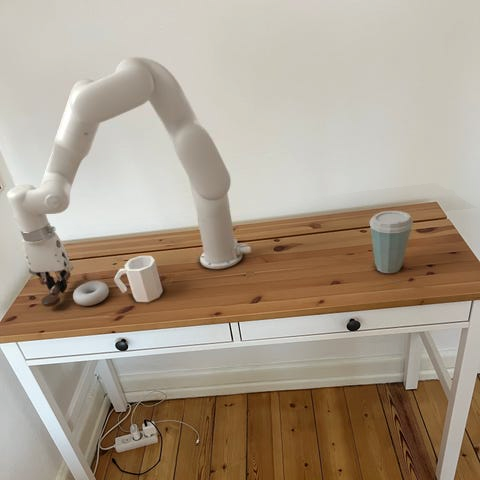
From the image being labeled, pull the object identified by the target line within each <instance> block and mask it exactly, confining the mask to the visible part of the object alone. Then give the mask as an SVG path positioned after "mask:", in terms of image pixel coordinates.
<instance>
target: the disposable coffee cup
mask: <svg viewBox="0 0 480 480" xmlns="http://www.w3.org/2000/svg"><path fill="white" fill-rule="evenodd" d="M413 220H414V219H413V218H412V216H411V215H410V213H408V212H404V211H399V210H387V211H380V212H378V213H375V214H374V215H372V217H371V218H370V220H369V226H370V233H371V242H372V249H373V258H374V265H375V268H376V269H377V271H379V272H380V273H384V274H394V273H397V272H399V271H400V270H401V267H402V266H403V263H404V258H405V255H406V251H407V246H408V244H409V243H408V241H409V237H410V235H411V230H412V227H413V226H414V221H413Z"/></svg>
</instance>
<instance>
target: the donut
mask: <svg viewBox="0 0 480 480" xmlns="http://www.w3.org/2000/svg"><path fill="white" fill-rule="evenodd" d="M109 292H110V290H109V286H108V285H107V284H106V283H105V282H103V281H101V280H92V281H91V280H90V281H87V282H84V283H82V284H81V285H78V286H77V287H76V288H75V289H74V291H73V294H72V298H73V301H74V302H75V304H77V305H79V306H81V307H82V306H83V307H88V306H94V305H97V304H99V303H101V302H103V301H105V299H106V298H107V297H108V296H109Z"/></svg>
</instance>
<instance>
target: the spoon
mask: <svg viewBox="0 0 480 480" xmlns="http://www.w3.org/2000/svg"><path fill="white" fill-rule="evenodd" d="M70 277H71V271H70V272H68V273H66V274H65V276H64V278H65V281H66V283H67V282H68V280H69V279H70ZM60 293H61V292H60V289H59V286H58V284H57V280H56V281H55V284H54V285H53V287H52V288H51V290H49V294H47V295H45V296H43V298H41V304H42V306H43V307H45V308H50V307H53V306H56V305H58V304H59V303H60V302H61V297H60V295H59V294H60Z"/></svg>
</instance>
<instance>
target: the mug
mask: <svg viewBox="0 0 480 480" xmlns="http://www.w3.org/2000/svg"><path fill="white" fill-rule="evenodd" d="M123 267H124V268H119V270H118V271H117V273H116V274H115V276H114V279H113V281H114V283H115V284H116V286H117V287H118V289H119V290H120V292H121V293H122V294H124V293H126V292H127V291H128V287H127V286H126V285H125V284H124V283H123V281H122V280H121V277H122V275H125V274H126V277H127V280H128V283H129V287H130V290H131V294H132V297H133V298H134V300H135V301H136V302H138V303H150V302H153V301H155V300H156V299H159V298H160V296H161V295H162V293H163V287H162V282H161V279H160V275H159V271H158V268H157V263H156V260H155V259H154V258H153V256H152V255H139V256H136V257H133V258H130V259H128V260H127V262H126V263H125V264H124V265H123Z"/></svg>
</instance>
